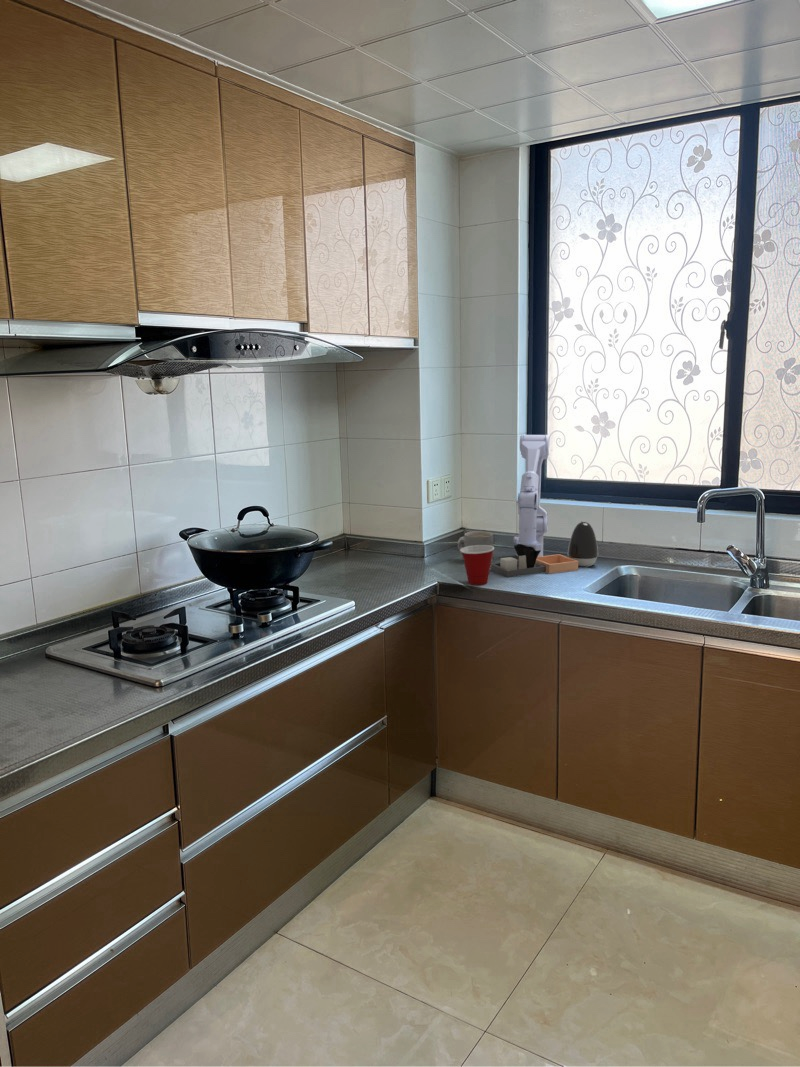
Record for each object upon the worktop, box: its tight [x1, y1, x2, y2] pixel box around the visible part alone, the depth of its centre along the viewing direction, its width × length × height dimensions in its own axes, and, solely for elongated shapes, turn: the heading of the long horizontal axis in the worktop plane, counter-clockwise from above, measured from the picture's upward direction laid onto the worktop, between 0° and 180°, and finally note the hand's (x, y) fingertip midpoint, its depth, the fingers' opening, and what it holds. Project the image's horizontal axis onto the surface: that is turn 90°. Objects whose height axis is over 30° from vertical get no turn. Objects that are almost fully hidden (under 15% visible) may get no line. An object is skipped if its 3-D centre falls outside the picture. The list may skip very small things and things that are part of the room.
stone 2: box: [518, 555, 535, 569], centre depth 268 cm, size 4×4×4 cm
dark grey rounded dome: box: [567, 521, 599, 568], centre depth 274 cm, size 10×10×15 cm
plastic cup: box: [459, 545, 495, 586], centre depth 252 cm, size 11×11×12 cm
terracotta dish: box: [535, 553, 579, 575], centre depth 270 cm, size 11×11×4 cm
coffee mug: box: [457, 530, 494, 563], centre depth 283 cm, size 13×10×10 cm
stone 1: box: [499, 556, 518, 571], centre depth 265 cm, size 4×4×4 cm
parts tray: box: [490, 559, 546, 578], centre depth 267 cm, size 11×14×3 cm
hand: (526, 567), depth 268 cm, fingers closed on stone 2, 4 cm apart
